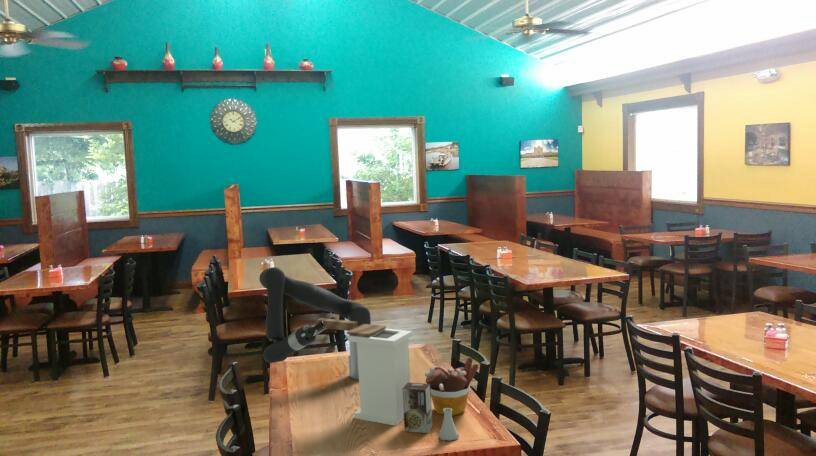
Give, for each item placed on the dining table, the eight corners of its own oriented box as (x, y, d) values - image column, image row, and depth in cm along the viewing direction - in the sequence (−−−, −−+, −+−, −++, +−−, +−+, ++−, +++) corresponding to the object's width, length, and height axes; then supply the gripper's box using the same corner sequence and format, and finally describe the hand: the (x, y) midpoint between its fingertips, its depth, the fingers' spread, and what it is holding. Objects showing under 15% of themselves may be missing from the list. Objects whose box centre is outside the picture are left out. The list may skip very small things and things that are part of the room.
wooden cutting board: (310, 330, 255) (310, 322, 255) (328, 322, 266) (328, 315, 266) (369, 336, 243) (369, 328, 242) (385, 328, 253) (385, 320, 253)
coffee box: (433, 426, 239) (431, 383, 237) (427, 433, 233) (426, 389, 231) (409, 424, 242) (407, 381, 240) (403, 431, 236) (401, 387, 234)
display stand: (352, 417, 250) (347, 335, 246) (371, 404, 262) (367, 326, 258) (397, 426, 240) (393, 341, 236) (415, 412, 252) (412, 331, 249)
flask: (437, 433, 232) (436, 406, 231) (457, 432, 233) (456, 404, 232) (439, 442, 225) (438, 414, 224) (460, 440, 226) (459, 412, 225)
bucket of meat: (433, 422, 242) (431, 370, 240) (420, 406, 258) (418, 357, 256) (483, 414, 247) (482, 363, 245) (468, 399, 263) (466, 351, 261)
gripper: (316, 341, 272) (344, 324, 264) (294, 351, 259) (323, 334, 251) (308, 325, 273) (335, 308, 265) (286, 334, 260) (314, 316, 252)
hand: (329, 321), depth 258 cm, fingers open, 7 cm apart
